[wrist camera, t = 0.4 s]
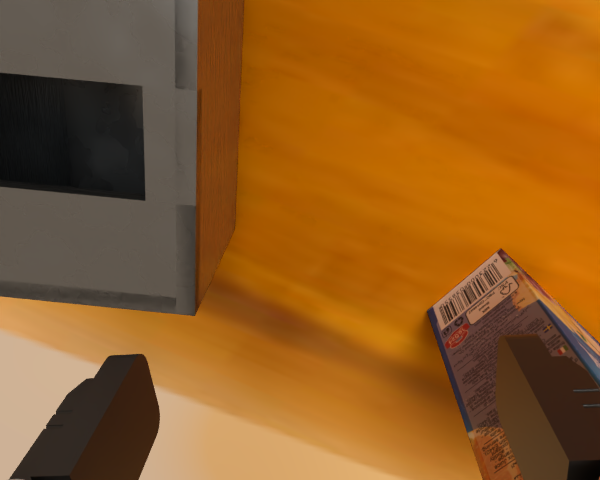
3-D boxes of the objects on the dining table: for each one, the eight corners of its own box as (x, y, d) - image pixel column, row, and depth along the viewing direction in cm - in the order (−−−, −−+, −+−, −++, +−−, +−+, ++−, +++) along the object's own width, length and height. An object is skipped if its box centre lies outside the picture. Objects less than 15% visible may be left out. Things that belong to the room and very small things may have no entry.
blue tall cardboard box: (425, 309, 42) (529, 625, 20) (499, 247, 40) (709, 526, 18) (523, 396, 45) (710, 759, 23) (598, 342, 43) (887, 687, 21)
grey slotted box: (42, -54, 34) (-115, -94, 22) (245, -36, 34) (198, -67, 22) (66, 212, 41) (-44, 291, 29) (234, 228, 41) (194, 315, 29)
